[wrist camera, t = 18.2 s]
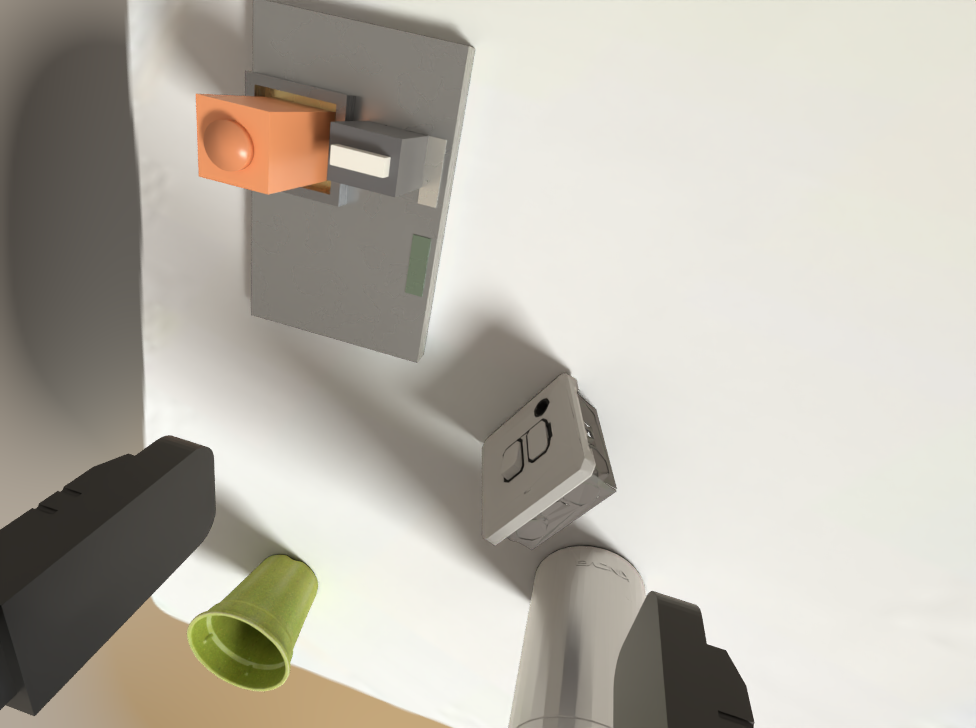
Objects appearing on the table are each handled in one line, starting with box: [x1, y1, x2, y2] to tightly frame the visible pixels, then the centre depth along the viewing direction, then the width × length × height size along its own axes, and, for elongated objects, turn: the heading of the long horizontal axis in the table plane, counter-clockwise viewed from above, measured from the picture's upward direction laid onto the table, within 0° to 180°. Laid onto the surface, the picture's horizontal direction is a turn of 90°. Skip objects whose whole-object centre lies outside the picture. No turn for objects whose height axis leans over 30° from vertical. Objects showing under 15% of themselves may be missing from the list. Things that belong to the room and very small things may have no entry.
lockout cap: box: [196, 94, 335, 195], centre depth 31 cm, size 4×4×8 cm
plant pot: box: [187, 555, 318, 691], centre depth 50 cm, size 9×9×9 cm
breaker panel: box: [245, 0, 475, 363], centre depth 35 cm, size 20×13×3 cm, turn 169°
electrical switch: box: [482, 373, 617, 550], centre depth 37 cm, size 9×5×9 cm, turn 139°
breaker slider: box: [327, 121, 429, 197], centre depth 31 cm, size 3×4×5 cm
